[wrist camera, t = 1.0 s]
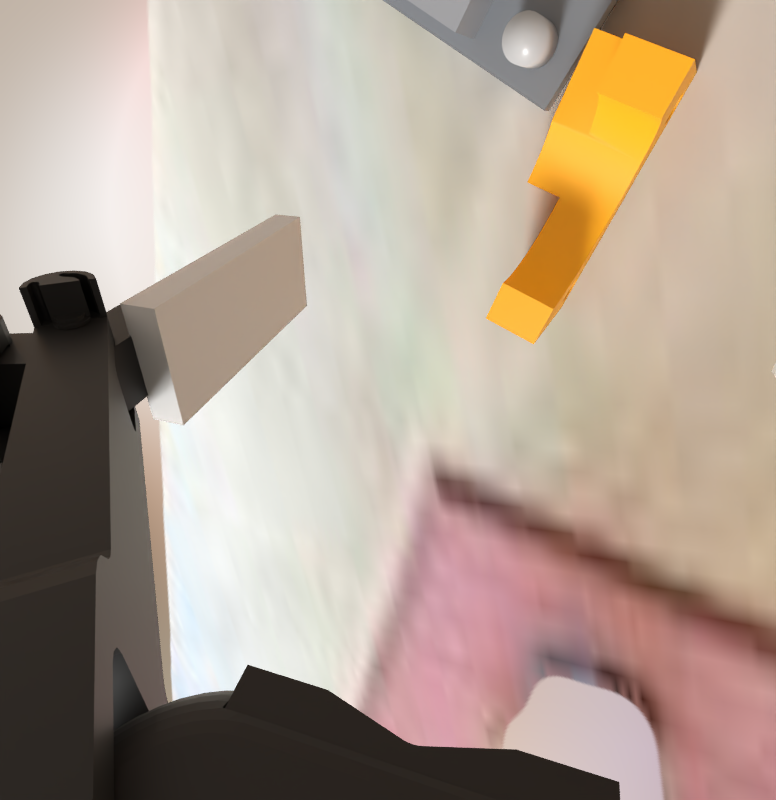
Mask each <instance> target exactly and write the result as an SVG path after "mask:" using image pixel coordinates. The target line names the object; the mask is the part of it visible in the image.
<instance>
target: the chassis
mask: <svg viewBox="0 0 776 800" xmlns="http://www.w3.org/2000/svg"><path fill="white" fill-rule="evenodd" d="M383 1H385V2H386V3H388V4H389V5H391V6H392V7H393V8H395V9H396V10H398V11H399V12H401V13H402V14H404V15H405V16H407V17H408V18H410V19H411V20H412V21H414V22H415V23H417V24H418V25H420V26H421V27H423V28H424V29H426V30H427V31H429V32H430V33H432V34H433V35H434V36H436V37H437V38H439V39H440V40H442V41H443V42H445V43H446V44H448V45H449V46H451V47H452V48H453V49H455V50H456V51H458V52H459V53H461V54H462V55H464V56H465V57H467V58H468V59H470V60H471V61H473V62H474V63H475V64H477V65H478V66H480V67H481V68H483V69H484V70H486V71H487V72H489V73H490V74H492V75H493V76H494V77H496V78H497V79H499V80H500V81H502V82H503V83H505V84H506V85H508V86H509V87H511V88H512V89H514V90H515V91H516V92H518V93H519V94H521V95H522V96H524V97H525V98H527V99H528V100H530V101H531V102H533V103H534V104H535V105H537V106H538V107H540V108H541V109H543V110H544V111H549V110H550V108H551V107H552V105H553V104H554V102H555V100H556V99H557V97H558V96H559V94H560V92H561V91H562V89H563V87H564V86H565V84H566V83H567V81H568V79H569V78H570V76H571V75H572V73H573V71H574V70H575V68H576V67H577V65H578V62H579V60H580V58H581V56H582V54H583V52H584V49H585V47H586V45H587V43H588V41H589V38H590V36H591V34H592V32H593V30H594V28H596V29H599V30H600V28H601V26H602V25H603V23H604V22H605V20H606V18H607V17H608V15H609V14H610V12H611V10H612V9H613V7H614V6H615V4H616V2H617V1H618V0H383Z"/></svg>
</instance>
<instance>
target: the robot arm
mask: <svg viewBox="0 0 776 800" xmlns="http://www.w3.org/2000/svg"><path fill="white" fill-rule="evenodd" d="M19 290H20V292H21V295H22V297H23V300H24V302H25V305H26V307H27V310H28V312H29V315H30V318H31V320H32V323H33V325H34V332H33V333H20V334H19V333H18V334H9V331H8V329H7V327H6V324H5V322H4V320H3V317H2V316H1V315H0V800H620V791H619V790H620V789H619V782H617V781H614V780H611V779H608V778H604V777H601V776H598V775H595V774H592V773H589V772H585V771H582V770H579V769H576V768H573V767H569V766H567V765H563V764H560V763H557V762H554V761H550V760H547V759H544V758H541V757H538V756H535V755H532V754H528V753H525V752H522V751H519V750H511V749H484V748H456V747H429V746H417V745H413V744H410V743H408V742H406V741H404V740H402V739H401V738H399V737H398V736H396V735H395V734H393V733H392V732H390V731H389V730H387V729H386V728H384V727H383V726H381V725H380V724H378V723H377V722H375V721H374V720H372V719H371V718H369V717H368V716H366V715H365V714H363V713H362V712H360V711H359V710H357V709H356V708H354V707H353V706H351V705H350V704H348V703H347V702H345V701H343V700H342V699H340V698H339V697H337V696H336V695H334V694H333V693H331V692H330V691H328V690H326V689H323V688H320V687H316V686H313V685H310V684H307V683H304V682H301V681H297V680H294V679H291V678H288V677H285V676H282V675H278V674H275V673H272V672H269V671H266V670H263V669H259V668H256V667H253V666H250V665H247V667H246V669H245V671H244V673H243V675H242V677H241V678H240V680H239V682H238V684H237V686H236V688H235V690H234V691H219V692H209V693H203V694H198V695H194V696H190V697H185V698H181V699H178V700H175V701H173V702H170V703H168V701H167V697H166V693H165V687H164V679H163V672H162V671H163V670H162V659H161V649H160V639H159V627H158V617H157V606H156V596H155V584H154V574H153V563H152V553H151V541H150V530H149V519H148V509H147V498H146V487H145V477H144V466H143V456H142V444H141V433H140V423H139V418H138V414H137V411H136V408H135V406H136V405H137V404H138V403H139V402H140V401H142V400H143V399H144V398H145V397H147V398H148V402H149V405H150V409H151V412H152V415H153V419H156V420H161V421H166V422H170V423H175V424H180V425H184V424H185V423H186V422H187V421H188V420H189V419H190V418H191V417H192V416H193V415H194V414H196V413H197V412H198V411H199V410H200V409H201V408H202V407H203V406H204V405H205V404H206V403H207V402H208V401H209V400H210V399H211V398H212V397H213V396H214V395H215V394H216V393H217V392H218V391H219V390H220V389H221V388H222V387H223V386H224V385H225V384H226V383H227V382H229V381H230V380H231V379H232V378H233V377H234V376H235V375H236V374H237V373H238V372H239V371H240V370H241V369H242V368H243V367H244V366H245V365H246V364H247V363H248V362H249V361H250V360H251V359H252V358H253V357H254V356H255V355H256V354H257V353H258V352H259V351H260V350H262V349H263V348H264V347H265V346H266V345H267V344H268V343H269V342H270V341H271V340H272V339H273V338H274V337H275V336H276V335H277V334H278V333H279V332H280V331H281V330H282V329H283V328H284V327H285V326H286V325H287V324H288V323H289V322H290V321H291V320H292V319H293V318H295V317H296V316H297V315H298V314H299V313H300V312H301V311H302V310H303V309H304V308H305V307H306V306H307V302H306V290H305V277H304V264H303V251H302V239H301V226H300V217H295V216H284V215H274V216H272V217H271V218H269V219H267V220H265V221H264V222H262V223H260V224H258V225H257V226H255V227H253V228H251V229H250V230H248V231H246V232H244V233H243V234H241V235H239V236H237V237H236V238H234V239H232V240H230V241H229V242H227V243H225V244H223V245H222V246H220V247H218V248H216V249H215V250H213V251H211V252H210V253H208V254H206V255H204V256H203V257H201V258H199V259H197V260H196V261H194V262H192V263H190V264H189V265H187V266H185V267H183V268H182V269H180V270H178V271H176V272H175V273H173V274H171V275H169V276H168V277H166V278H164V279H162V280H161V281H159V282H157V283H155V284H154V285H152V286H150V287H148V288H147V289H145V290H143V291H141V292H140V293H138V294H136V295H134V296H133V297H131V298H129V299H127V300H126V301H124V302H122V303H121V304H120V305H119V306H117V307H115V308H113V309H112V310H110V311H108V312H106V310H105V307H104V304H103V300H102V297H101V294H100V291H99V287H98V284H97V281H96V278H95V276H94V275H93V274H91V273H88V272H83V271H63V272H55V273H49V274H45V275H42V276H38V277H35V278H32V279H30V280H28V281H26V282H24V283H23V284H22V285H21V286H20V287H19ZM772 372H773V374H774V376H775V378H776V362H775V364H774V366H773V368H772Z"/></svg>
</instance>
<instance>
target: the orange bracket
mask: <svg viewBox="0 0 776 800" xmlns="http://www.w3.org/2000/svg"><path fill="white" fill-rule="evenodd" d="M696 73H697V70H696V63H695V59H693V58H690V57H687V56H685V55H682V54H680V53H677V52H674V51H672V50H669V49H666V48H664V47H661V46H659V45H656V44H653V43H651V42H648V41H645V40H643V39H640V38H638V37H635V36H632V35H630V34H627V33H625V34H624V36H623V38H620V37H617V36H614V35H612V34H609V33H607V32H604V31H601V30H599V29H596V28H594V30H593V32H592V34H591V36H590V38H589V41H588V43H587V45H586V47H585V49H584V52H583V54H582V56H581V58H580V60H579V62H578V65H577V67H576V69H575V71H574V73H573V76H572V78H571V80H570V82H569V84H568V87H567V89H566V91H565V93H564V95H563V98H562V100H561V102H560V104H559V106H558V108H557V111H556V113H555V115H554V117H553V120H552V123H551V126H550V129H549V132H548V135H547V137H546V140H545V143H544V145H543V148H542V151H541V153H540V155H539V158H538V160H537V162H536V165H535V167H534V169H533V171H532V174H531V176H530V178H529V180H528V183H530V184H532V185H534V186H537V187H539V188H541V189H543V190H545V191H547V192H549V193H551V194H554V195H556V196H558V197H560V198H559V200H558V202H557V203H556V205H555V207H554V209H553V211H552V213H551V214H550V216H549V218H548V220H547V222H546V223H545V225H544V227H543V228H542V230H541V232H540V233H539V235H538V237H537V238H536V240H535V242H534V243H533V245H532V246H531V248H530V250H529V251H528V253H527V254H526V256H525V257H524V258H523V260H522V261H521V263H520V264H519V265H518V267H517V268H516V269H515V271H514V272H513V273H512V274H511V276H510V277H509V278H508V279H507V280H506V281H505V282H504V283H503V284H502V286H501V288H500V290H499V293H498V295H497V297H496V299H495V301H494V303H493V305H492V307H491V309H490V311H489V313H488V315H487V317H486V319H488V320H490V321H492V322H494V323H495V324H497V325H499V326H501V327H503V328H505V329H507V330H508V331H510V332H512V333H514V334H516V335H518V336H519V337H521V338H523V339H525V340H527V341H529V342H530V343H532V344H534V343H535V342H536V340H537V339H538V338H539V336H540V335H541V334H542V332H543V331H544V330H545V328H546V327H547V326H548V325H549V323H550V322H551V321H552V319H553V318H554V317H555V315H556V314H557V313H558V311H559V310H560V309H561V307H562V306H563V304H564V302H565V300H566V299H567V297H568V295H569V293H570V292H571V290H572V288H573V286H574V285H575V283H576V281H577V279H578V278H579V276H580V274H581V273H582V271H583V269H584V267H585V266H586V264H587V262H588V260H589V259H590V257H591V255H592V253H593V252H594V250H595V248H596V246H597V245H598V243H599V241H600V240H601V238H602V236H603V234H604V233H605V231H606V229H607V227H608V226H609V224H610V222H611V220H612V219H613V217H614V215H615V213H616V212H617V210H618V208H619V206H620V205H621V203H622V201H623V200H624V198H625V196H626V194H627V193H628V191H629V189H630V187H631V186H632V184H633V182H634V180H635V179H636V177H637V175H638V173H639V172H640V170H641V168H642V167H643V165H644V163H645V161H646V160H647V158H648V156H649V154H650V153H651V151H652V149H653V147H654V146H655V144H656V142H657V140H658V139H659V137H660V135H661V134H662V132H663V130H664V128H665V127H666V125H667V123H668V121H669V120H670V118H671V116H672V114H673V113H674V111H675V109H676V107H677V106H678V104H679V102H680V100H681V99H682V97H683V95H684V94H685V92H686V90H687V88H688V87H689V85H690V83H691V81H692V80H693V78H694V76H695V74H696Z"/></svg>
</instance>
